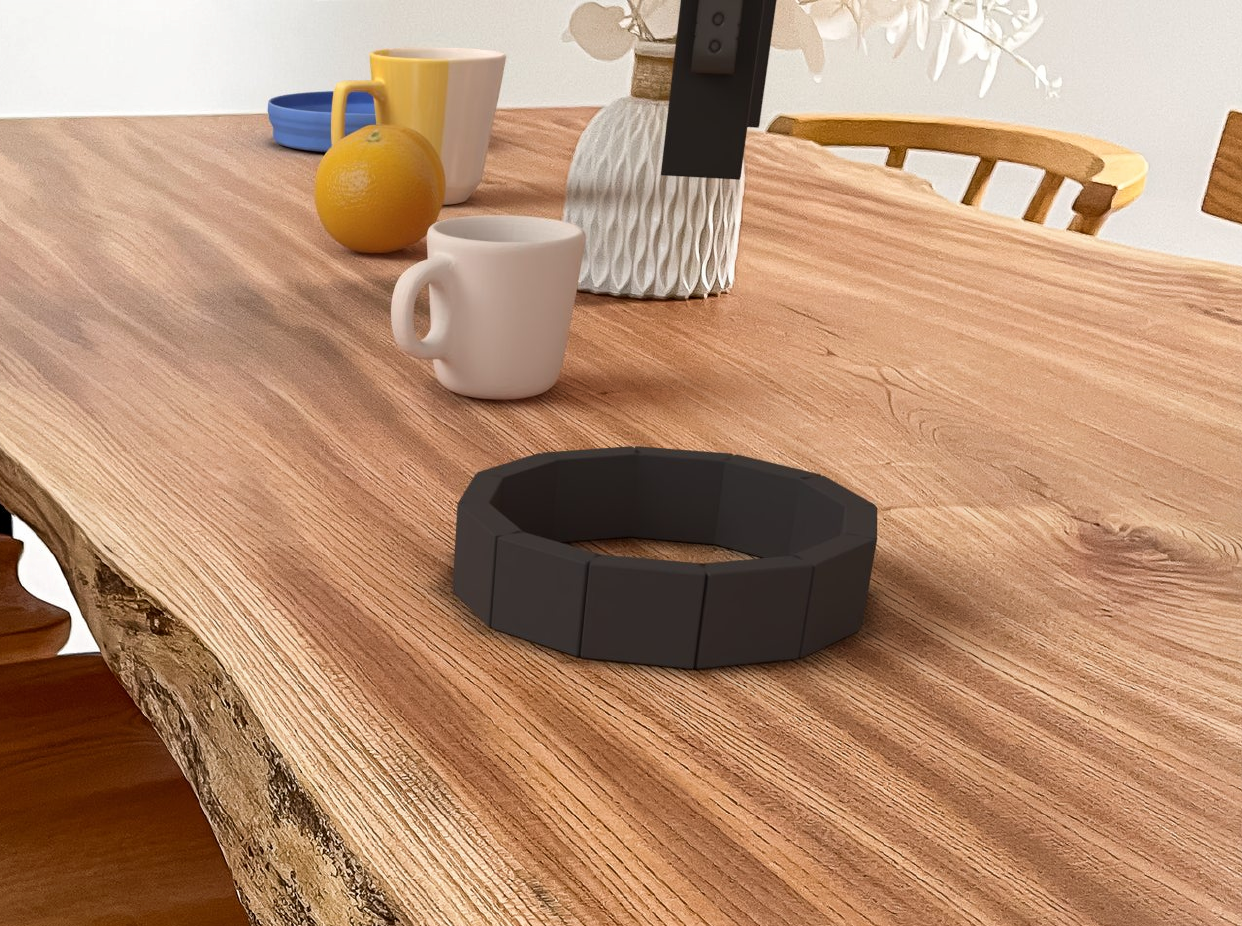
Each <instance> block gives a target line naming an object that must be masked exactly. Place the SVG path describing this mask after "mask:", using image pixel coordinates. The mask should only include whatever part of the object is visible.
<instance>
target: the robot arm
mask: <svg viewBox="0 0 1242 926" xmlns="http://www.w3.org/2000/svg"><path fill="white" fill-rule="evenodd" d="M777 1H778V0H680V1H679V2H680V3H679V10H678V11H679V12H678V21H677V22H678V23H677V28H676V29H677V30H676V31H677V32H676V38H675V45H674V55H673V63H672V64H673V65H672V74H671V82H670V90H669V100H668V108H667V114H666V115H667V117H666V125H665V133H664V143H663V151H662V159H661V160H662V161H661V167H660V176H664V177H666V176H667V177H683V178H684V177H685V178H701V179H719V180H720V179H721V180H738V181H739V180H741V177H742V170H743V163H744V155H745V148H746V141H747V134H748V128H753V129H754V128H755V129H757V128H758V129H759V128H760V124H761V117H762V108H763V104H764V103H763V102H764V94H765V87H766V80H767V73H768V65H769V58H770V51H771V44H772V37H773V36H772V35H773V30H774V21H775V15H776V7H777Z"/></svg>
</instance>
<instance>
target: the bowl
mask: <svg viewBox="0 0 1242 926" xmlns="http://www.w3.org/2000/svg"><path fill="white" fill-rule="evenodd" d="M333 93H334V90H327V91H326V90H325V91H307V92H297V93H296V92H295V93H289V94H282V95H278V96H274V97H272V98H270V99H269V100H268V102H267V114H268V121H269V122H270V124H271V126H272V139H273V140H274V142H275V143H276V144H278V145H280V146H284V147H287V148H291V149H296V150H304V151H310V152H320V153H326V152H327V151H328V150H329V149H330V148H331V147H332V143H331V114H332V101H333ZM368 125H376V115H375V106H374V98H373V96H372V95H370V94H369V93H367V92H364V91H354V92H350V93H349V94H348V97H347V102H346V109H345V137H346V136H348V135H349V134H351V133H353V132H355V131H357V130H359V129H361V128H363V127H365V126H368Z"/></svg>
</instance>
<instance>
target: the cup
mask: <svg viewBox="0 0 1242 926" xmlns="http://www.w3.org/2000/svg"><path fill="white" fill-rule="evenodd" d="M586 240H587V237H586V232H585V230H584V229H583V228H582V227H581V226H579V225H577V224H574V223H571V222H567V221H564V220H560V219H553V218H546V217H540V216H530V215H529V216H528V215H513V214H510V215H509V214H485V215H484V214H483V215H482V214H481V215H468V216H467V215H466V216H457V217H453V218H446V219H443V220H439V221H436V222H435V223H434V224H433V225H432V226H430V228H429V229H428V232H427V235H426V251H427V259H424V260H421V261H419V262H416V263H414V264H413V265H411V266H410V267H408V268H407V269H405V270H404V272H403V273H402V274H401V275H400V276H399V278H398V280H397V281H396V284H395V286H394V289H393V292H392V297H391V305H390V320H391V321H390V322H391V330H392V334H393V337H394V341H395V342H396V344H397V346H398V348H399V349H400V351H402V352H403V353H404V354H405V355H407V356H409V357H411V358H414V359H417V360H422V361H423V360H424V361H428V360H429V361H430V360H432V365H433V370H434V373H435V376H436V378H437V380H438V382H439V383H440V384H441V385H442V386H443V387H444V388H445V389H447V390H448V391H450V392H453V393H455V394H457V395H461V396H465V397H470V398H475V399H483V400H500V401H501V400H518V399H519V400H520V399H526V398H532V397H535V396H538V395H541V394H544V393H546V392H547V391H549V390H550V389H551V388H552V387H554V385H555V384H556V383H557V381H558V379H559V377H560V374H561V371H562V368H563V365H564V360H565V356H566V350H567V346H568V341H569V340H568V339H569V335H570V330H571V324H572V323H571V322H572V319H573V313H574V307H575V303H576V296H577V291H578V285H579V281H580V276H581V275H580V274H581V269H582V263H583V258H584V253H585V248H586V242H587V241H586ZM426 285H428V291H429V292H428V293H429V294H428V295H429V296H428V297H429V315H430V316H429V318H430V329H429V331H428V333H427V335H426V336H425V337H424V338H423V339H421V340H419V339H418V336H417V334H416V332H415V324H414V311H415V304H416V300H417V298H418V295H419V293H420V291H421V290H422V289H423V288H424V287H425V286H426Z"/></svg>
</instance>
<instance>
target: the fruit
mask: <svg viewBox="0 0 1242 926" xmlns="http://www.w3.org/2000/svg"><path fill="white" fill-rule="evenodd" d="M445 189H446V182H445V173H444V169H443V165H442V162H441V160H440V158H439V156H438V154H437V152H436V150H435V149H434V147H433V146H432V145H431V143H430V142H429V141H428V140H427V139H426V138H425V137H424V136H423V135H422V134H420V133H418V132H417V131H415V130H413V129H410V128H407V127H402V126H395V125H381V124H379V125H368V126H365V127H363V128H361V129H359V130H357V131H355V132H353V133H351V134H349V135H348V136H346V137H344V138H342V139H341V140H340V141H338V142H337V143H336V144H334V145H333V146H332V147H331V148H330V149H329V150H328V151H327V152H325V154H324V155H323V157H322V159H321V160H320V162H319V164H318V167H317V171H316V174H315V180H314V204H315V208H316V212H317V215H318V218H319V221H320V223H321V225H322V226H323V228H324V230H325V231H326V232H327V233H328V234H329V236H331V238H333V240H334V241H336V242H337V243H338V244H340V245H341V246H342V247H344V248H347V249H348V250H350V251H352V252H353V251H354V252H357V253H361V254H362V253H364V254H388V253H394V252H397V251H400V250H402V249H405V248H408V247H410V246H412V245H415V244H417V243H419V242H420V241H421V240H423V239H424V238H425V237H427V232H428V229H429V228H430V226H432V225H433V224H434V223H437V221H438V218H439V216H440V213H441V210H442V208H443V206H444V205H443V201H444V197H445Z"/></svg>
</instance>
